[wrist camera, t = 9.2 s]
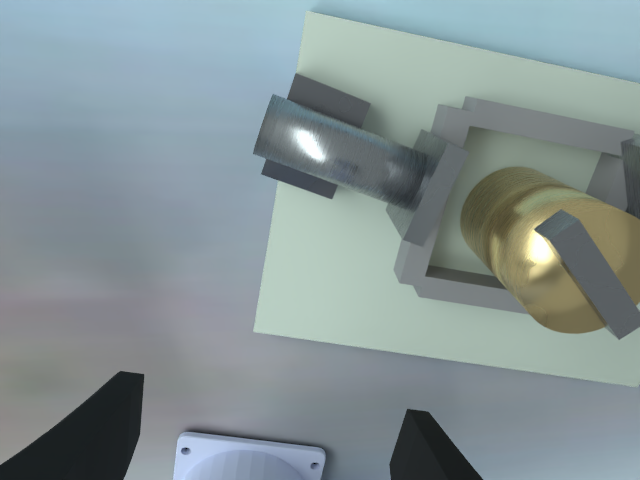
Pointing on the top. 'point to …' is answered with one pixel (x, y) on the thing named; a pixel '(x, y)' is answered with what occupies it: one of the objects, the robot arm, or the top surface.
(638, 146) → the shaft
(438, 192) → the shaft
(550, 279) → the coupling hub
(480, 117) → the bench plate
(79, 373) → the top surface
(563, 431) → the top surface
